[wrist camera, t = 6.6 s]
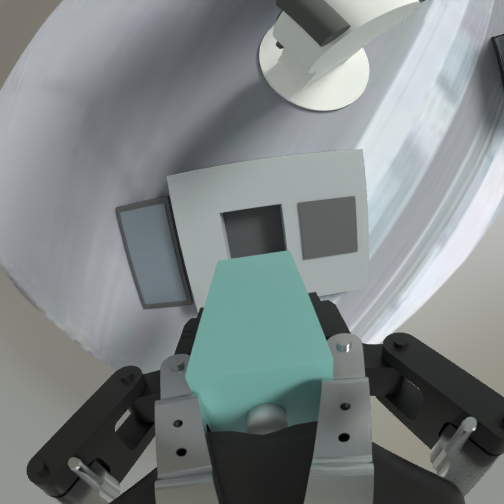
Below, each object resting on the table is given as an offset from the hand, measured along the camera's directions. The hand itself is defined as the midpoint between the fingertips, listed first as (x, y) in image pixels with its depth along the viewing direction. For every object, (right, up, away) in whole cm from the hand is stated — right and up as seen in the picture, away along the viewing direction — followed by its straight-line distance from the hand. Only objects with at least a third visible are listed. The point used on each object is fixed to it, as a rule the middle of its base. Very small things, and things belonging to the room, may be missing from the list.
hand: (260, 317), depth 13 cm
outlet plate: (+2, +5, +15) cm, 16 cm away
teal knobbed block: (0, +1, +3) cm, 3 cm away
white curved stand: (+6, +22, +9) cm, 25 cm away
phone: (-11, +3, +16) cm, 20 cm away
